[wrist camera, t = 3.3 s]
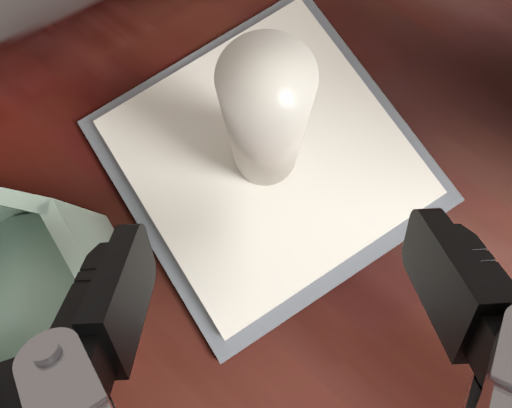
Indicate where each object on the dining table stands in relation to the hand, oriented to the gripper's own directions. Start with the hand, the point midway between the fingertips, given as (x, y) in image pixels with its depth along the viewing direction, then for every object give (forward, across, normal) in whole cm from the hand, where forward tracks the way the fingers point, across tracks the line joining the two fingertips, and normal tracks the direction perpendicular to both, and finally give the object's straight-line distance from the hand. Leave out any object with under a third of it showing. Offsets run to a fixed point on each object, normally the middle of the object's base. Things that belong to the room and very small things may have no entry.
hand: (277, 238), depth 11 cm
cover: (+11, 0, +3) cm, 12 cm away
